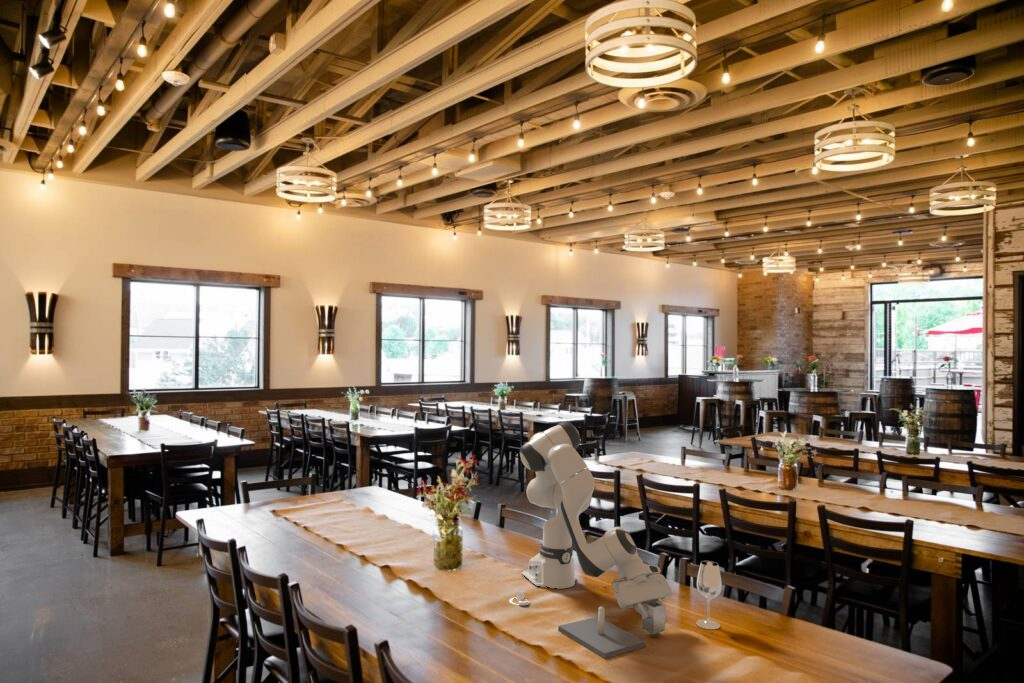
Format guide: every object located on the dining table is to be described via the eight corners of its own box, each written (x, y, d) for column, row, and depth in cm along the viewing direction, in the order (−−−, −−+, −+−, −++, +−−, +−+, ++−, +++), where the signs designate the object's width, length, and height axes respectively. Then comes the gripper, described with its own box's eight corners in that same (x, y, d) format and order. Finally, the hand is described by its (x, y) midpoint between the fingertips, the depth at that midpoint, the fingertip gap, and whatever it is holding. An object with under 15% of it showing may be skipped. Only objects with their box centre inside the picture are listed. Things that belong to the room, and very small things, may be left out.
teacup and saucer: (529, 608, 229) (529, 596, 229) (506, 606, 231) (506, 594, 231) (533, 599, 238) (534, 588, 238) (511, 597, 239) (512, 585, 239)
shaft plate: (558, 630, 210) (559, 599, 210) (597, 621, 219) (598, 591, 219) (604, 658, 192) (605, 624, 192) (645, 646, 200) (646, 614, 201)
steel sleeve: (641, 628, 210) (642, 602, 210) (653, 625, 213) (653, 600, 213) (653, 634, 206) (653, 608, 206) (664, 631, 209) (665, 605, 209)
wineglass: (703, 630, 214) (705, 567, 214) (691, 621, 221) (692, 560, 222) (725, 628, 216) (726, 566, 216) (711, 619, 223) (713, 559, 224)
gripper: (614, 575, 210) (634, 617, 202) (662, 566, 221) (683, 606, 212) (604, 585, 214) (624, 627, 205) (652, 575, 224) (673, 615, 216)
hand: (654, 616), depth 209 cm, fingers closed on steel sleeve, 5 cm apart
